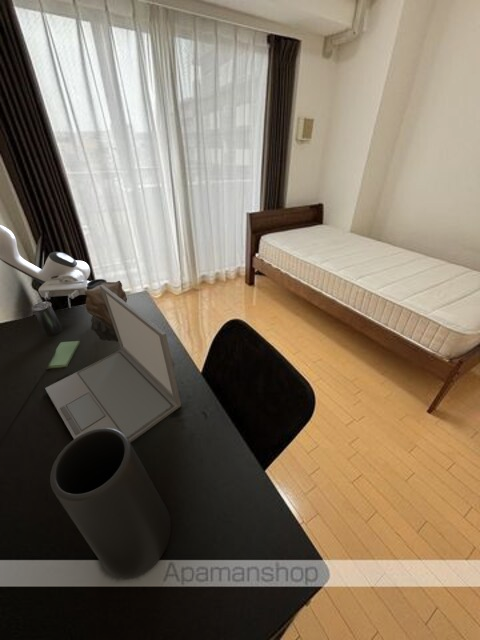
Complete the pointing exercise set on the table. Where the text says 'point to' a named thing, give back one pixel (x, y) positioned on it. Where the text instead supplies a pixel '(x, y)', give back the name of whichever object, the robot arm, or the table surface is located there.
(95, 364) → the laptop
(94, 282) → the coffee cup
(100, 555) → the vase
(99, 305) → the owl
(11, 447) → the table surface
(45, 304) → the can
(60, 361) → the rag
